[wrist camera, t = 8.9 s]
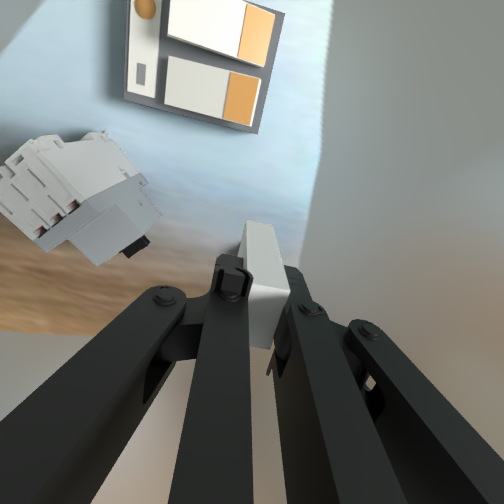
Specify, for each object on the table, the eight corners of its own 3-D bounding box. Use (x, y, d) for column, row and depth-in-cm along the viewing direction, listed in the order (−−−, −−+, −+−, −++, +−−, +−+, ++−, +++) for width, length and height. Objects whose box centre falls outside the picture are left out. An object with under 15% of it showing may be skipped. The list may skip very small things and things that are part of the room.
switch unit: (135, 102, 35) (120, 99, 31) (141, -18, 30) (124, -42, 26) (256, 133, 37) (257, 134, 33) (280, 25, 32) (286, 10, 28)
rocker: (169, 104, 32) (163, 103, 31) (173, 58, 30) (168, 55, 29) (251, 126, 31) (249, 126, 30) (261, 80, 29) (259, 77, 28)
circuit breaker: (139, 241, 44) (92, 294, 30) (67, 163, 38) (-29, 186, 25) (175, 215, 42) (143, 260, 29) (106, 131, 37) (26, 136, 23)
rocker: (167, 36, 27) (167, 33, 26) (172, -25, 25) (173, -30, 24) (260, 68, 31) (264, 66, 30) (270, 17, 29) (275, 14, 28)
